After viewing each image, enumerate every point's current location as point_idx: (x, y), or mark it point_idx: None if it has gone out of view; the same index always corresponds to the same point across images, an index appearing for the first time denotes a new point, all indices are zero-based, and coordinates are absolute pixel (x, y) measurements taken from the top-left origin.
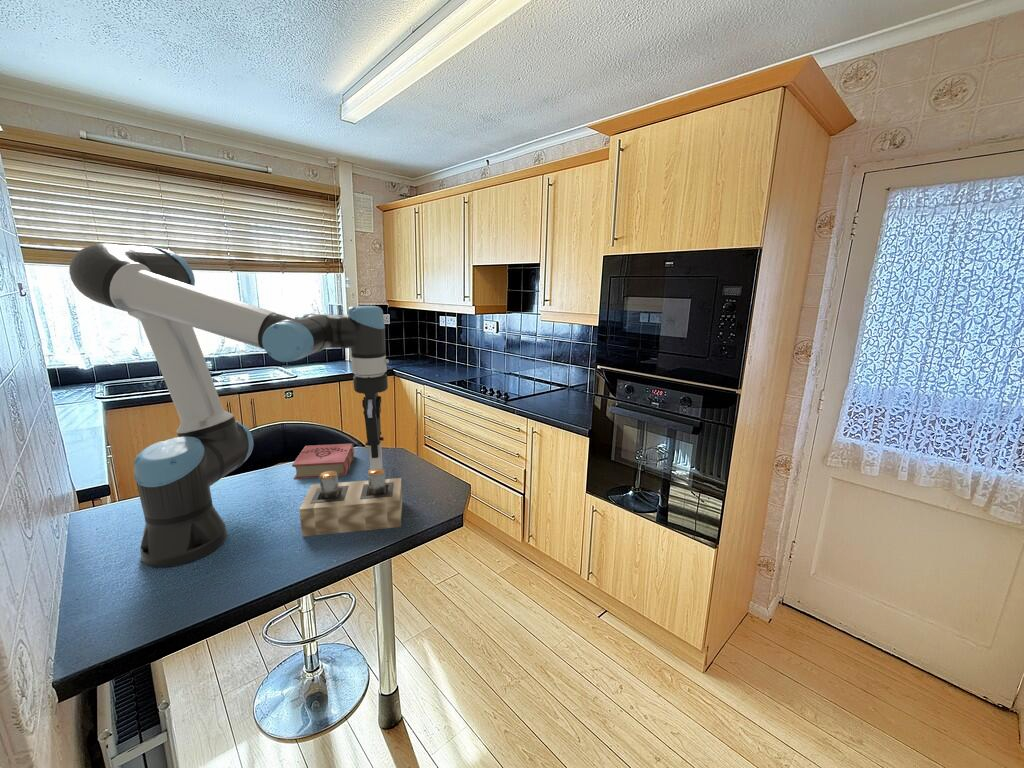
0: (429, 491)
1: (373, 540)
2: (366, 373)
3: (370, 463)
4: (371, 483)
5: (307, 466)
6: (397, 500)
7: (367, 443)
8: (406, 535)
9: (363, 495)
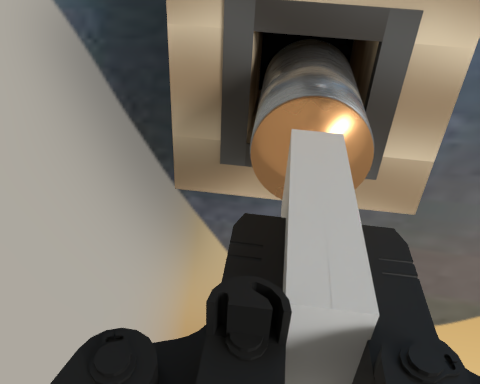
0: (428, 242)
1: (126, 28)
2: None
3: (291, 160)
4: (267, 92)
5: None
6: (177, 181)
7: (90, 359)
8: (146, 142)
9: (263, 16)
